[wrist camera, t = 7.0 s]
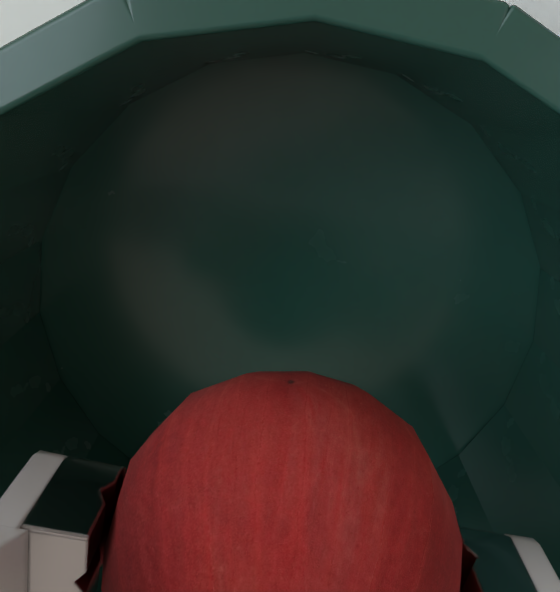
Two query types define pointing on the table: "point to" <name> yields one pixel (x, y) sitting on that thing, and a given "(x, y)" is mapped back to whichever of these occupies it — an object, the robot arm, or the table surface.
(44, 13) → the table surface
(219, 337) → the pot
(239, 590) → the onion
